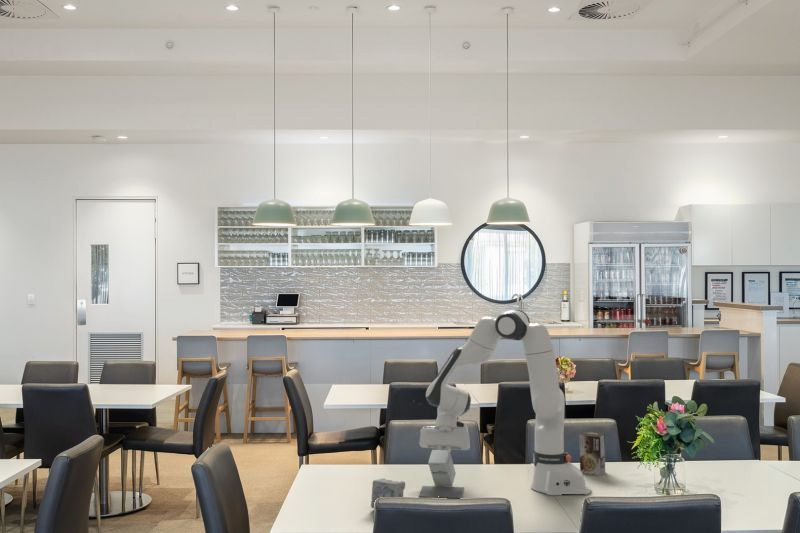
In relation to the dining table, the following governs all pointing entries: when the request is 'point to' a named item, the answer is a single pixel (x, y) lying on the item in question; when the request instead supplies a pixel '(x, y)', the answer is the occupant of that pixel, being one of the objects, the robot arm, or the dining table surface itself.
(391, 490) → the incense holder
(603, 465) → the coffee box
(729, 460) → the dining table surface
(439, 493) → the mat
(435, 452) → the supplement box
